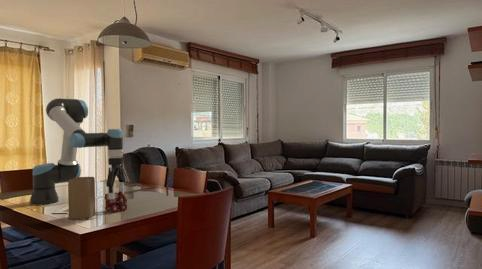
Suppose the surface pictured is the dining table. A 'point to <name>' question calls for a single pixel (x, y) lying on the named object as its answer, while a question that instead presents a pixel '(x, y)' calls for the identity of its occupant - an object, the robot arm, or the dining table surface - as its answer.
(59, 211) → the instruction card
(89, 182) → the wooden block
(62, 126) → the robot arm
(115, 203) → the red patterned box
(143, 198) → the dining table surface
